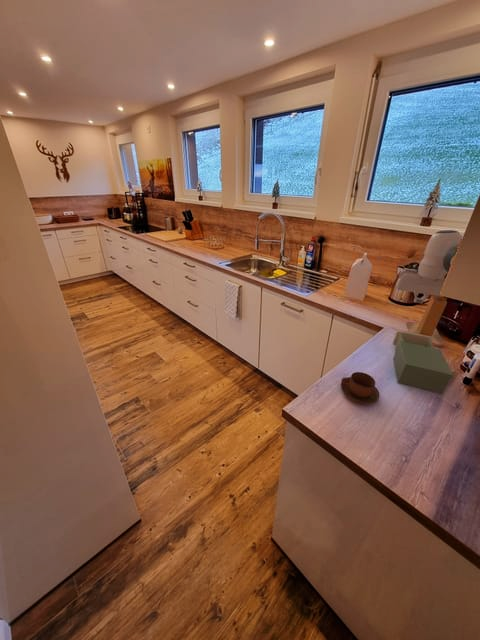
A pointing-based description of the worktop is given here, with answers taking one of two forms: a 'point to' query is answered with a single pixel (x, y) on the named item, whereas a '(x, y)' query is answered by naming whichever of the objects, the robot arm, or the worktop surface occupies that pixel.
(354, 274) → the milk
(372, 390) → the cup and saucer
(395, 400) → the worktop surface
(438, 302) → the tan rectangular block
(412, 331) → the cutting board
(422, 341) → the drawer
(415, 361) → the green box
